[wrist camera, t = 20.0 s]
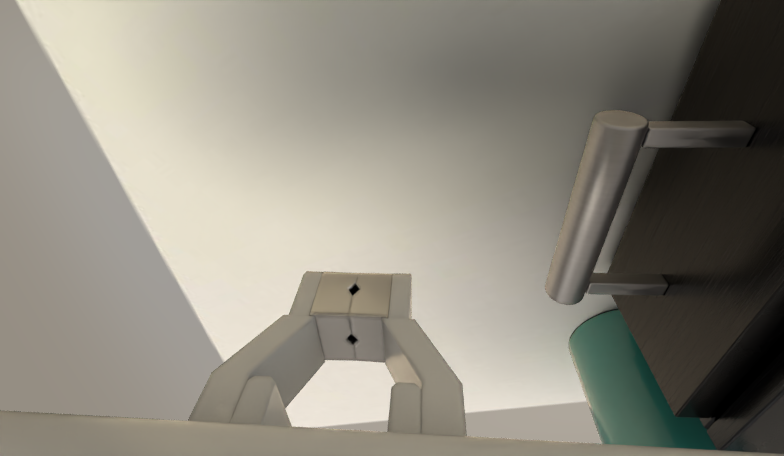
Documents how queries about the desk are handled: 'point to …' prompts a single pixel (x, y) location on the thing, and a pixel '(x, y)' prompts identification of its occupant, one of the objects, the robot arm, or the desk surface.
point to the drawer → (694, 217)
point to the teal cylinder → (627, 389)
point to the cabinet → (752, 415)
